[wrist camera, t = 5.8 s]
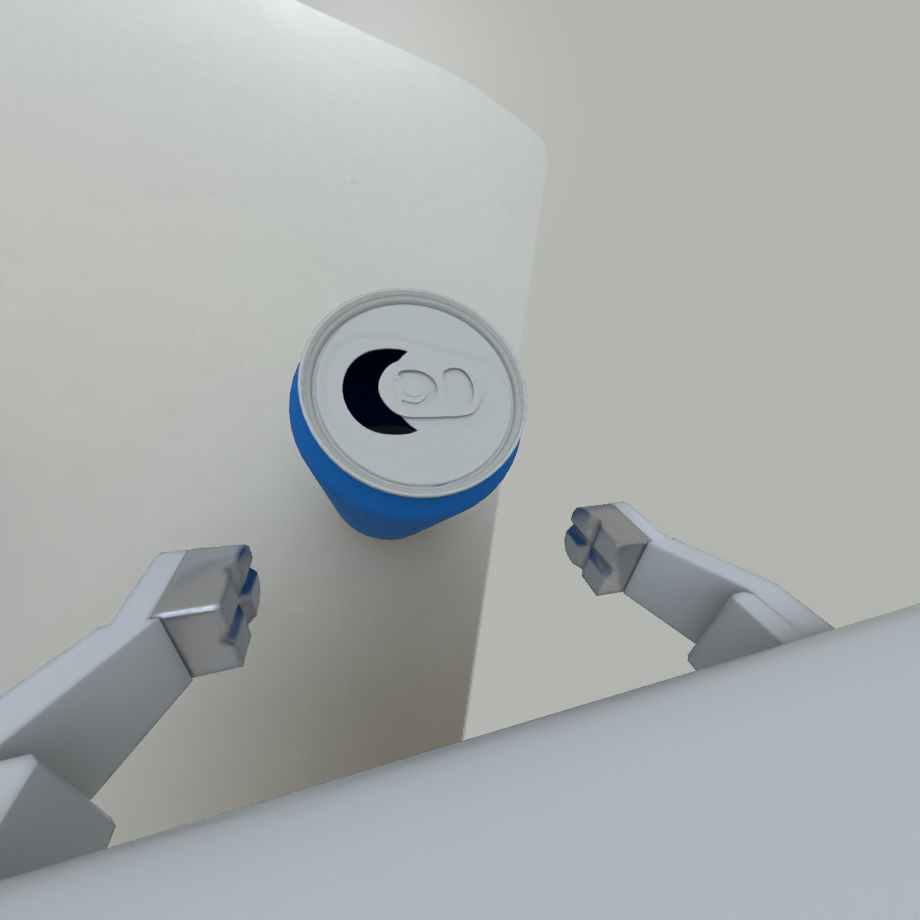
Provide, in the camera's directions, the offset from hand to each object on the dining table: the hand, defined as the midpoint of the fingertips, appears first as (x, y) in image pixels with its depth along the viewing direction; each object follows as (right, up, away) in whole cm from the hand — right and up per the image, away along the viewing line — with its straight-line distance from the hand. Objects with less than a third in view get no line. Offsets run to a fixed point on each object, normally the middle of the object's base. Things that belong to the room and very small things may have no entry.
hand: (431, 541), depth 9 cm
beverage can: (-3, +1, +11) cm, 11 cm away
